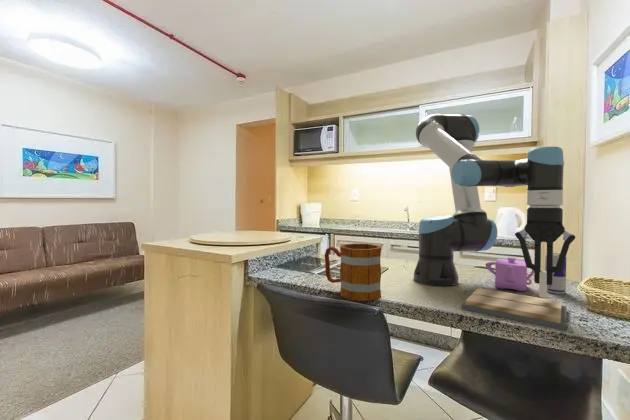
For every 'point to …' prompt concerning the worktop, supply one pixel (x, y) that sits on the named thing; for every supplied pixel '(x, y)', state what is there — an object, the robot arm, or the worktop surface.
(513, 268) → the teapot
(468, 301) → the laid plank
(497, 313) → the underlay
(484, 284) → the worktop surface
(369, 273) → the mug
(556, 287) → the energy drink
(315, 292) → the worktop surface
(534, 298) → the plank
